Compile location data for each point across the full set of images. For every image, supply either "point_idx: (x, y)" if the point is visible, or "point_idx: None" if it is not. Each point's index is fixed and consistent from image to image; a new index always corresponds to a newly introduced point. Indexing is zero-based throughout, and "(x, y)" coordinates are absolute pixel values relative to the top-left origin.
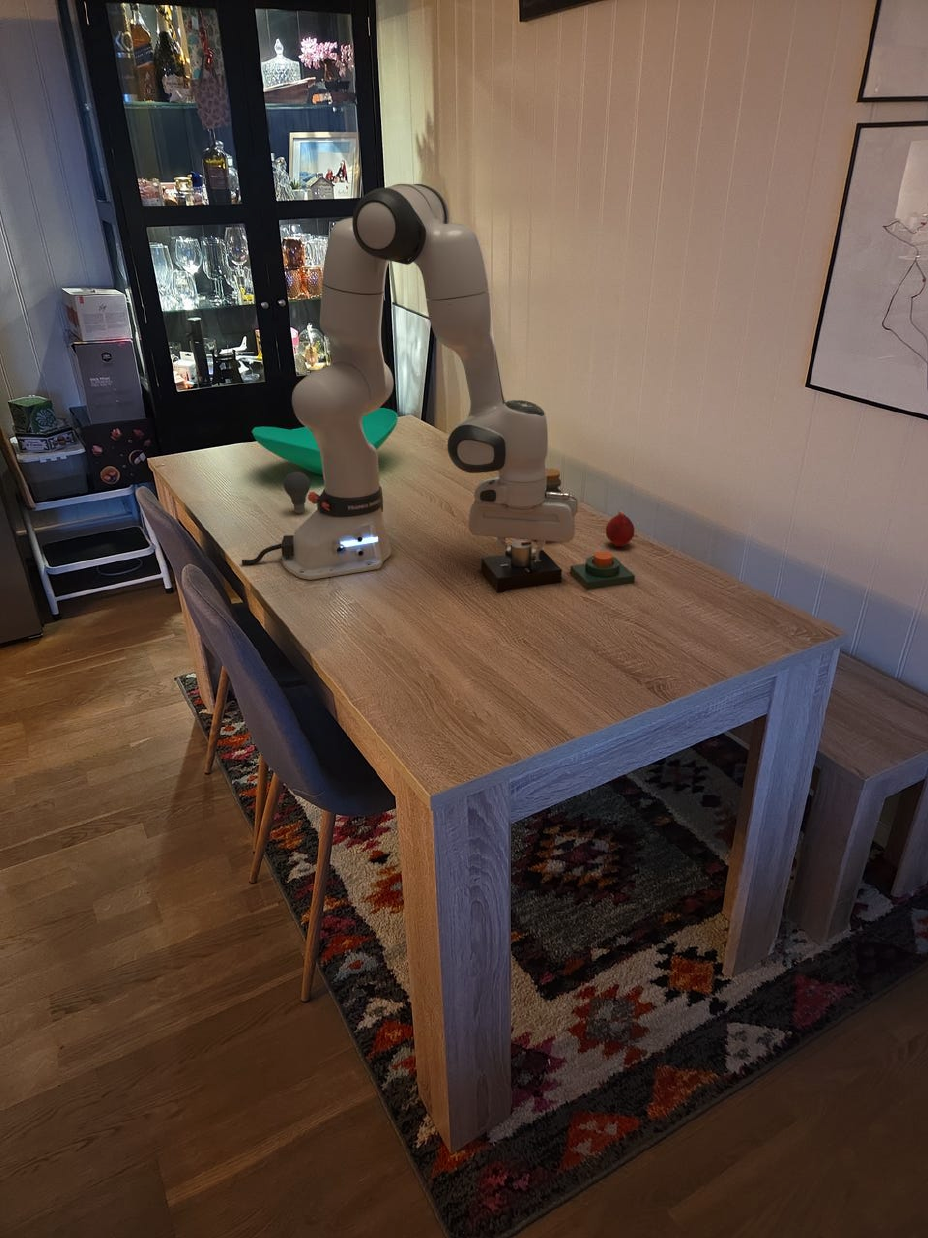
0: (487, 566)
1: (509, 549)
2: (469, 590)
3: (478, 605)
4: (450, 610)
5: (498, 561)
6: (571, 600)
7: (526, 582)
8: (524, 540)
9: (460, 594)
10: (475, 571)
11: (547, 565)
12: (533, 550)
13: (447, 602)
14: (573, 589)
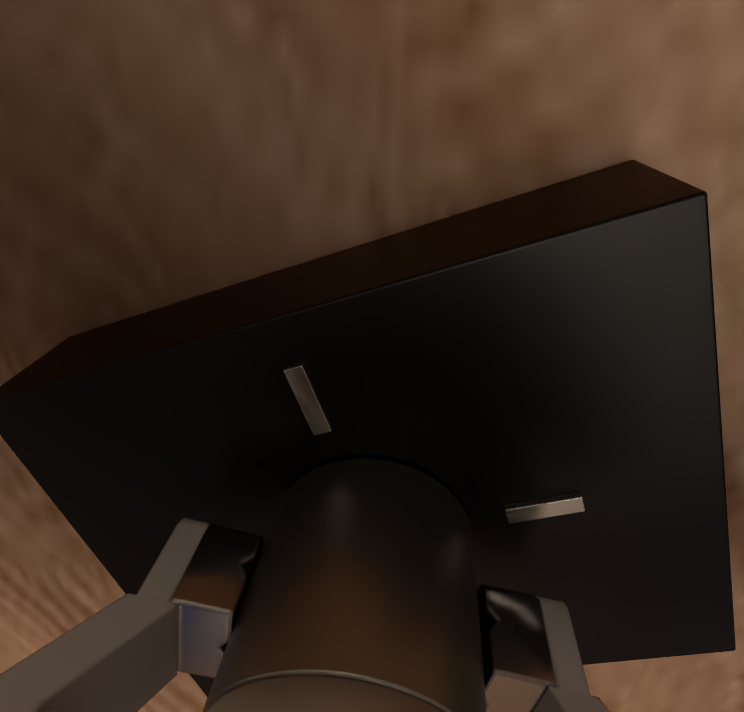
0: (92, 538)
1: (211, 659)
2: (82, 568)
3: (172, 686)
4: None
5: (160, 488)
6: (665, 701)
7: None
8: (390, 689)
9: (51, 598)
10: (25, 330)
11: (624, 587)
12: (504, 703)
13: (21, 652)
14: (735, 610)
